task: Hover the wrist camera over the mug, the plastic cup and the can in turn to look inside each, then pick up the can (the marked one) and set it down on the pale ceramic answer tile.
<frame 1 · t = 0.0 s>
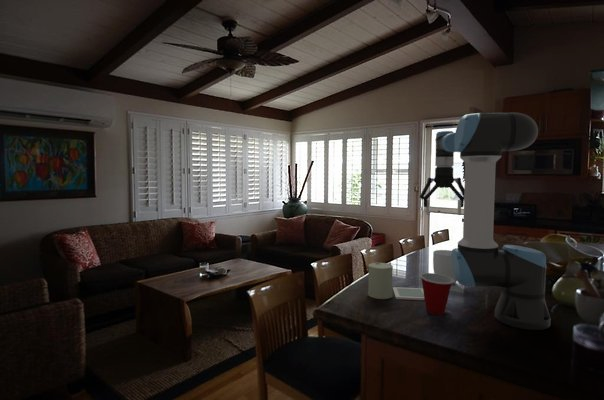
hand: (443, 214, 165), 28 cm above the kitchen island, fingers open, 13 cm apart
can: (380, 295, 141), on the kitchen island
answer tile: (410, 294, 142), on the kitchen island
plastic cup: (436, 312, 124), on the kitchen island
mug: (448, 283, 156), on the kitchen island
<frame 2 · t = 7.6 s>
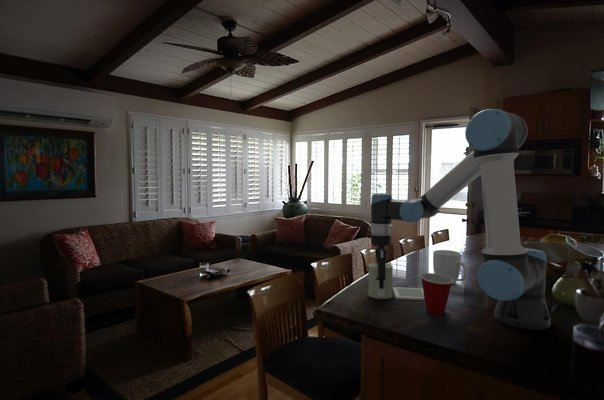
hand: (380, 292, 141), 1 cm above the kitchen island, fingers closed on can, 9 cm apart
can: (380, 295, 141), on the kitchen island, touching gripper
everything else where it was.
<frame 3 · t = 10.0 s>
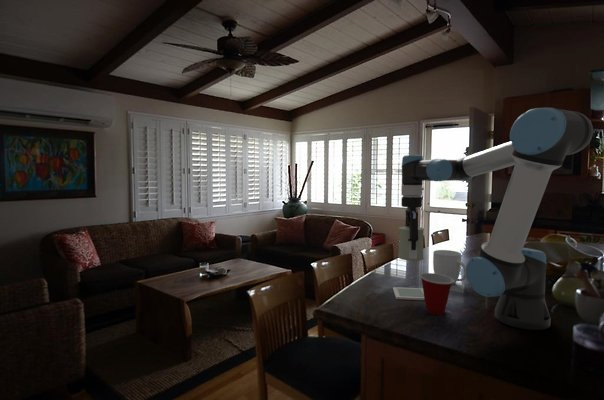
hand: (410, 255, 140), 15 cm above the kitchen island, fingers closed on can, 9 cm apart
can: (410, 258, 140), point 14 cm above the kitchen island, touching gripper
everything else where it was.
when the fingers open (3 cm above the kitchen island, at t = 12.7 s): can stays where it is, resting on answer tile.
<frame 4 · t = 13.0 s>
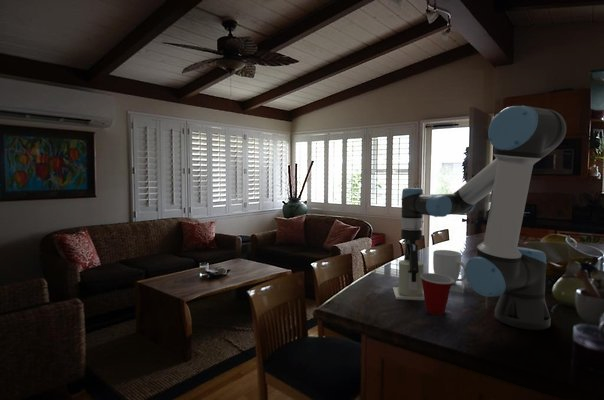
hand: (410, 284, 141), 4 cm above the kitchen island, fingers open, 12 cm apart
can: (410, 292, 142), point 1 cm above the kitchen island, touching answer tile
everything else where it was.
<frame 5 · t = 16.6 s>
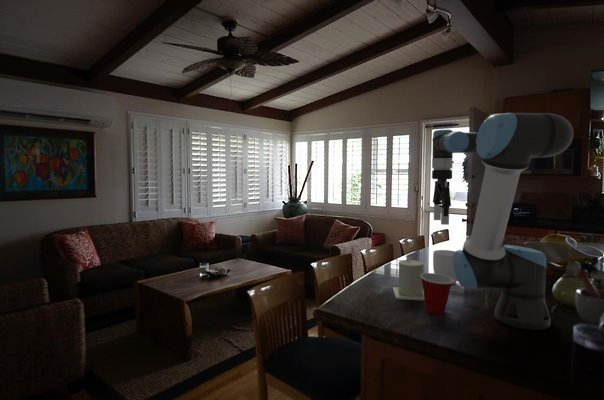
hand: (440, 222, 149), 27 cm above the kitchen island, fingers open, 13 cm apart
nothing on the kitchen island moved.
at the end: can inside the target area on the answer tile (0.0 cm from its centre), point 0.7 cm above the answer tile's base; can tilted 0°; the gripper is holding nothing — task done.
